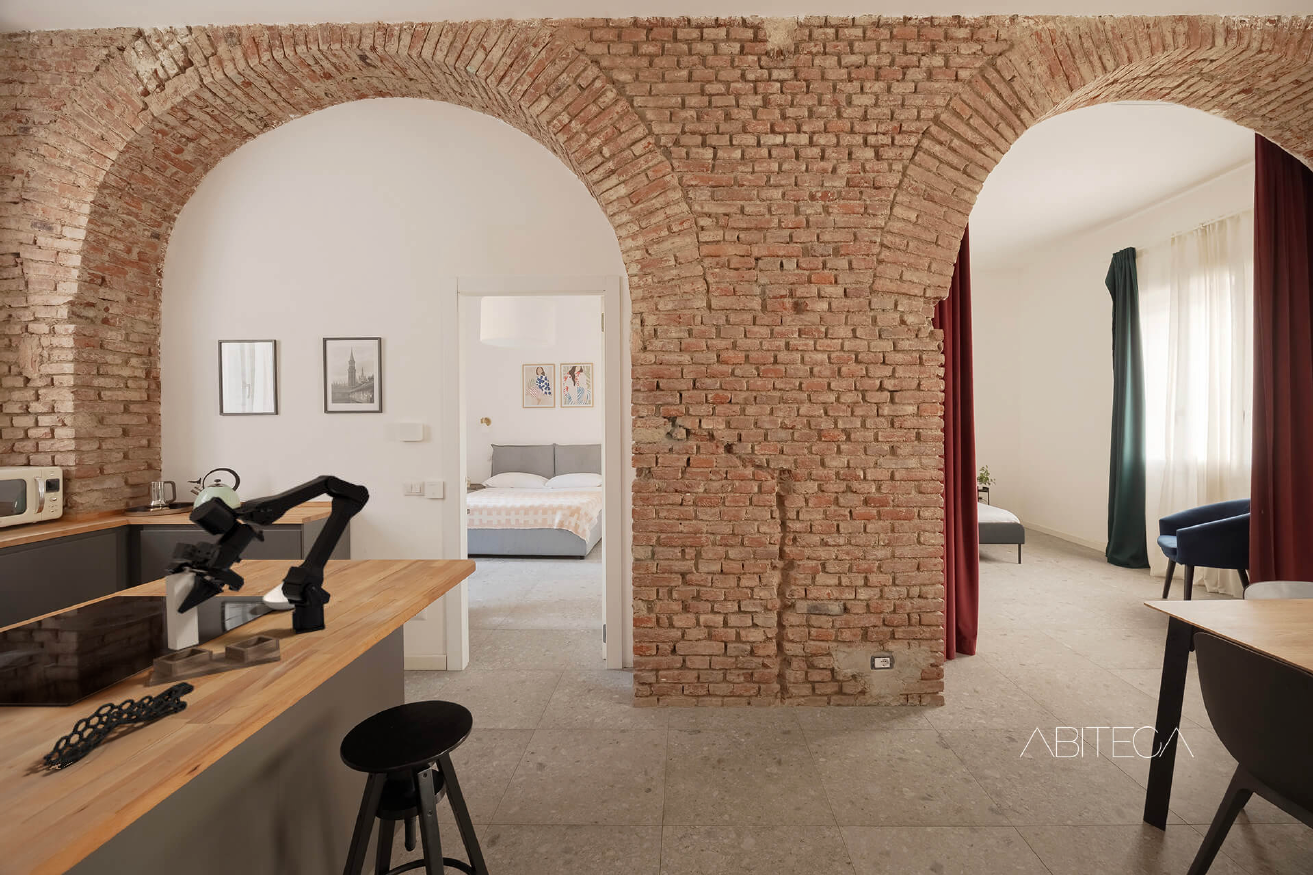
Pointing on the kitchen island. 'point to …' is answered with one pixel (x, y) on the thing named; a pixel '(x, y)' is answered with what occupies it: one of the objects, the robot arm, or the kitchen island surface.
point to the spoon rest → (277, 599)
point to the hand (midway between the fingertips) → (174, 611)
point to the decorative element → (117, 722)
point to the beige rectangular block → (180, 625)
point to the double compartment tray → (214, 659)
